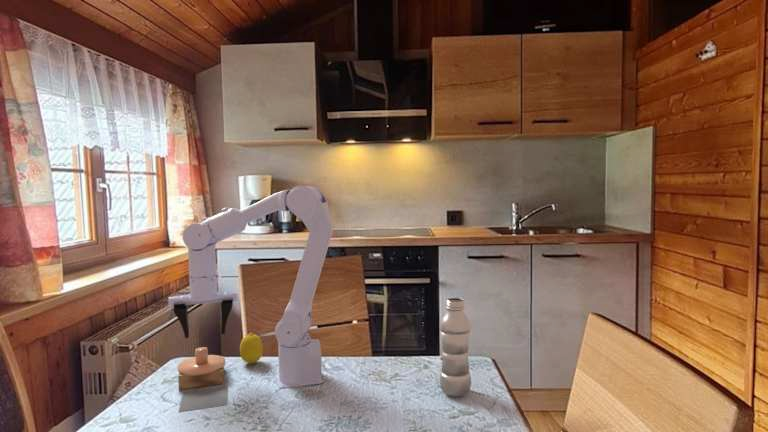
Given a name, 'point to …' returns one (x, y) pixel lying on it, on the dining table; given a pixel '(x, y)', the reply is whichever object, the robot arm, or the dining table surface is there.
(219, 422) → the dining table surface
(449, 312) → the plastic bottle
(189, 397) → the mat
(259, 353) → the lemon
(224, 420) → the dining table surface
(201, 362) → the lid
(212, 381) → the wooden open tray
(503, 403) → the dining table surface
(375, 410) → the dining table surface
